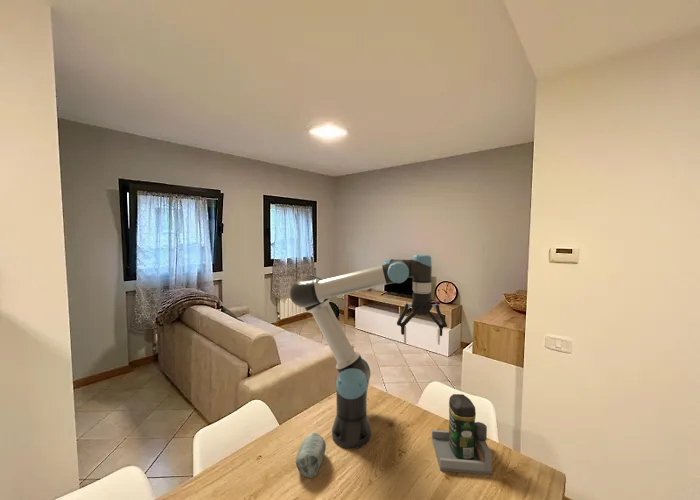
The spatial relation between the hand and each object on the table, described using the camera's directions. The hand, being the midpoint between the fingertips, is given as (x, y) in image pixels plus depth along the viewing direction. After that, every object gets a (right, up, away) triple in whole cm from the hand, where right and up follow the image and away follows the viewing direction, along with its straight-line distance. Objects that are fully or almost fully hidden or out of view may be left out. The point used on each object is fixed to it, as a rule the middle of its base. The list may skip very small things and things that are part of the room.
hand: (421, 342), depth 117 cm
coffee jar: (+10, -32, -18) cm, 38 cm away
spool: (-43, -34, -23) cm, 59 cm away
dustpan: (+9, -33, -19) cm, 39 cm away
